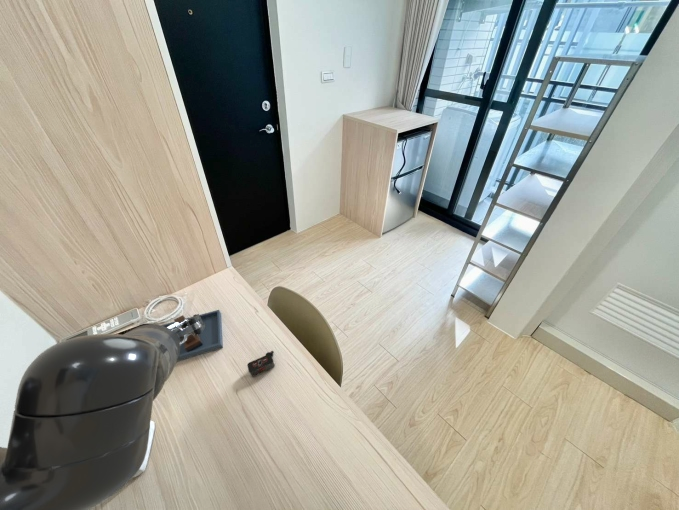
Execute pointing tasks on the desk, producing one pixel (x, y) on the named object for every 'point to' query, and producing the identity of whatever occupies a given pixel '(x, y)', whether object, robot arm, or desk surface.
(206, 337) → the tray
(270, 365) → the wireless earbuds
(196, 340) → the brown wooden block
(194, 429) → the desk surface
